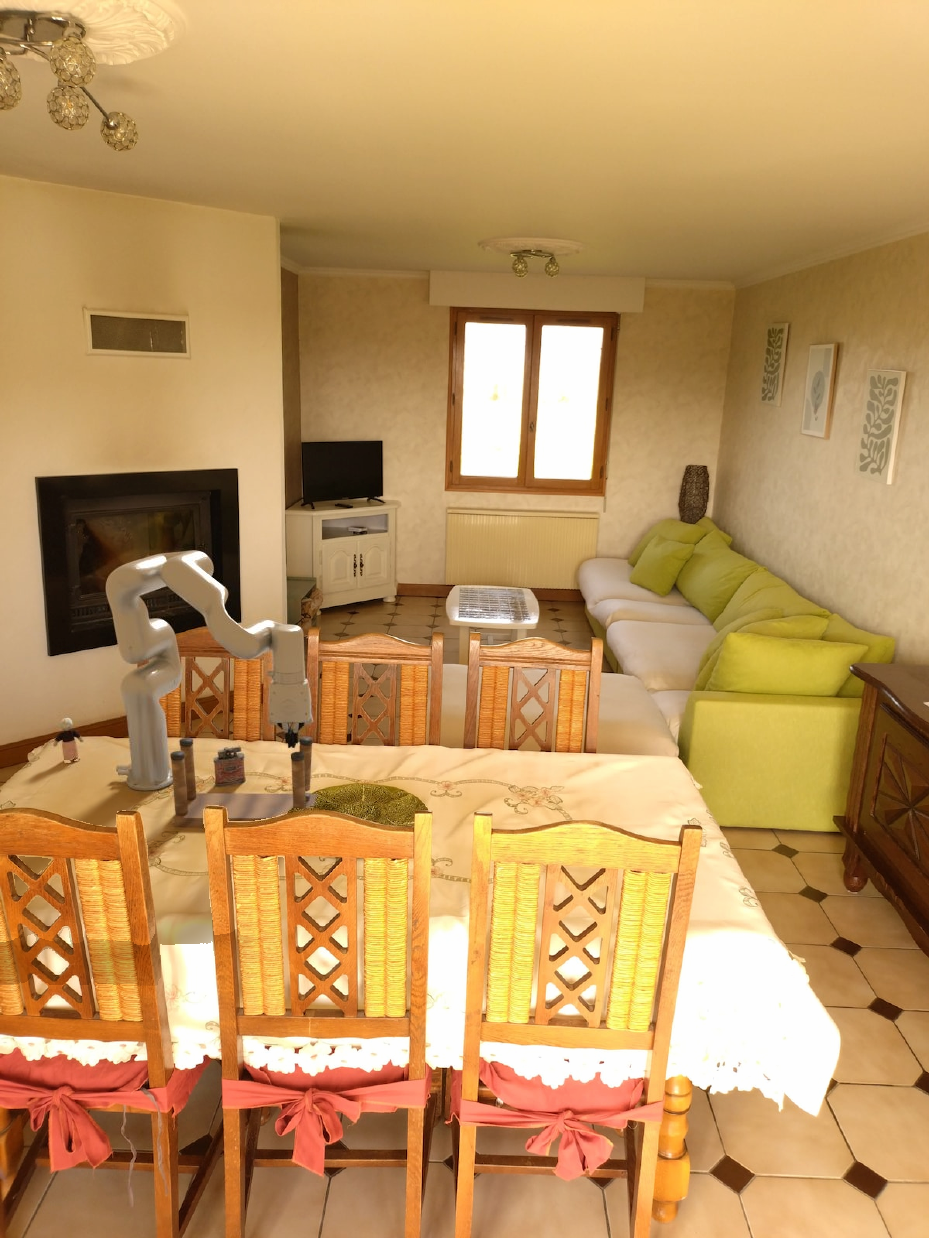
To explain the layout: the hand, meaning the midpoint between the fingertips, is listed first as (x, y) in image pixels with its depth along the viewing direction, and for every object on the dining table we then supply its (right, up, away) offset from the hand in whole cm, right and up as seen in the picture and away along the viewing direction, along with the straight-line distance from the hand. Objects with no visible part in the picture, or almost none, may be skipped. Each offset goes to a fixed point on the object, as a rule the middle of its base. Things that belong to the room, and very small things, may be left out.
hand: (292, 745), depth 233 cm
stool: (-11, -17, +1) cm, 20 cm away
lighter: (-20, -12, +17) cm, 29 cm away
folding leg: (+1, -5, +1) cm, 5 cm away
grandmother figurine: (-67, -8, +29) cm, 73 cm away
